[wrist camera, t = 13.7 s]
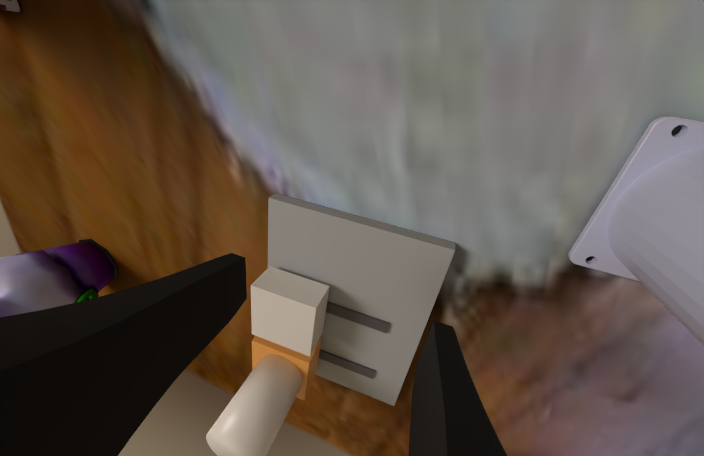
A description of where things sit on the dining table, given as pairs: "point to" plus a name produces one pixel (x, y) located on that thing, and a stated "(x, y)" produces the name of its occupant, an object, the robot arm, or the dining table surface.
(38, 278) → the potion bottle
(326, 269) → the panel
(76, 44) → the dining table surface
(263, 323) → the block
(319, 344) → the block
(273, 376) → the cap
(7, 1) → the supplement box
